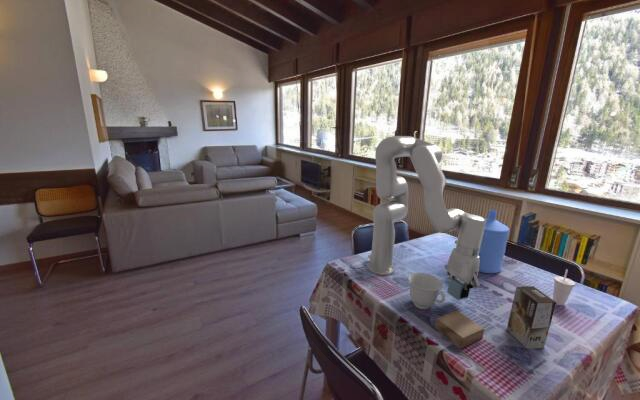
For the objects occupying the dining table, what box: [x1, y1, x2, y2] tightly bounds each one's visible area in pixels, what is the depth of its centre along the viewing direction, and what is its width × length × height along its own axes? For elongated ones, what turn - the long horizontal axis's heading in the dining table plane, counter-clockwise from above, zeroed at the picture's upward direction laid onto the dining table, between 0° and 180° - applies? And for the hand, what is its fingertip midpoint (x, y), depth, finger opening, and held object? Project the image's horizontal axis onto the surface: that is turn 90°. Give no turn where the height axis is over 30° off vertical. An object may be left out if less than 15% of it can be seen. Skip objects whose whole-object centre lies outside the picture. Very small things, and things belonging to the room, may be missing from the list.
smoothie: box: [552, 268, 576, 306], centre depth 112 cm, size 6×6×14 cm
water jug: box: [478, 209, 510, 274], centre depth 137 cm, size 16×16×28 cm
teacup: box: [407, 272, 446, 310], centre depth 106 cm, size 12×15×10 cm
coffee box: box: [506, 285, 557, 350], centre depth 91 cm, size 9×6×16 cm
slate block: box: [446, 277, 468, 301], centre depth 108 cm, size 5×5×6 cm
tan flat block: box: [434, 310, 485, 349], centre depth 94 cm, size 10×10×4 cm
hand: (457, 292), depth 109 cm, fingers closed on slate block, 5 cm apart
